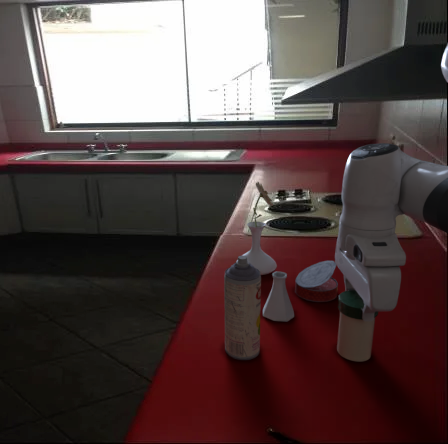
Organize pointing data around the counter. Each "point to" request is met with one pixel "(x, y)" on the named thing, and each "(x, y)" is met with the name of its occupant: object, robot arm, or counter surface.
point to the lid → (351, 304)
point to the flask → (278, 300)
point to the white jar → (355, 338)
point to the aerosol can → (242, 310)
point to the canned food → (317, 282)
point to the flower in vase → (256, 254)
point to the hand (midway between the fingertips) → (358, 307)
